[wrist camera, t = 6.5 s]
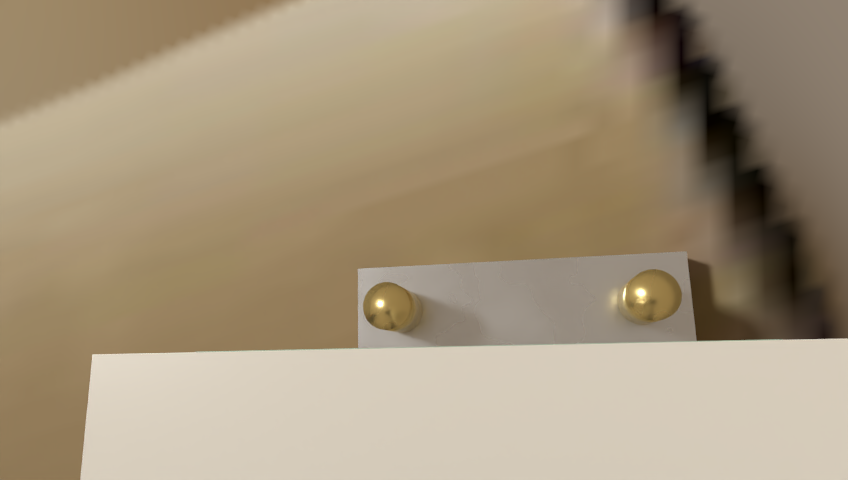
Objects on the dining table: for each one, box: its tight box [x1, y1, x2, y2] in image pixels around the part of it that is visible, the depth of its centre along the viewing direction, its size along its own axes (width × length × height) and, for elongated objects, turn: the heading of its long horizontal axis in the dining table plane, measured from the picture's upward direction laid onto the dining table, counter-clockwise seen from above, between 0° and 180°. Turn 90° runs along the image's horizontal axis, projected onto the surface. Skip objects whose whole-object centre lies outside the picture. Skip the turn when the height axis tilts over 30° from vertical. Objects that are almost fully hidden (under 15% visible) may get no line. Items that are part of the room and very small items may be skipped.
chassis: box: [358, 252, 697, 348], centre depth 20 cm, size 12×12×4 cm
